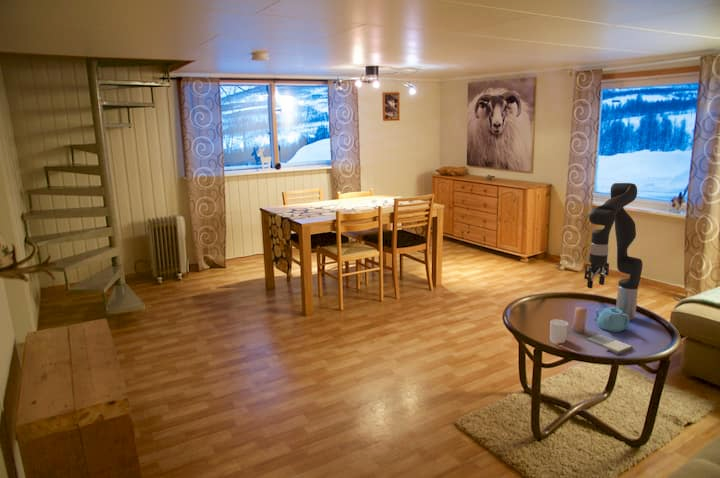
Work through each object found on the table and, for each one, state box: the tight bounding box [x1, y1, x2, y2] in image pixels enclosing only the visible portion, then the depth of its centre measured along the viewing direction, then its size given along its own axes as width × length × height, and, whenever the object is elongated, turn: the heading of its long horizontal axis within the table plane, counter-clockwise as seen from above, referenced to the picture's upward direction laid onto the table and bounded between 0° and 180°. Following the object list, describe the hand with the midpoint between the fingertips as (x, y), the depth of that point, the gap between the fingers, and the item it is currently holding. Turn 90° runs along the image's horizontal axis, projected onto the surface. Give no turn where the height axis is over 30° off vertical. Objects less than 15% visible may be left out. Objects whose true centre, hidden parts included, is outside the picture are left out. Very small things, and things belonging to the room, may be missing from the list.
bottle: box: [572, 306, 588, 334], centre depth 246 cm, size 5×5×12 cm
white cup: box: [549, 318, 569, 345], centre depth 237 cm, size 8×8×10 cm
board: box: [567, 328, 634, 356], centre depth 239 cm, size 12×28×2 cm, turn 31°
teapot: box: [593, 306, 631, 333], centre depth 251 cm, size 20×17×12 cm
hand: (595, 286), depth 233 cm, fingers open, 8 cm apart
